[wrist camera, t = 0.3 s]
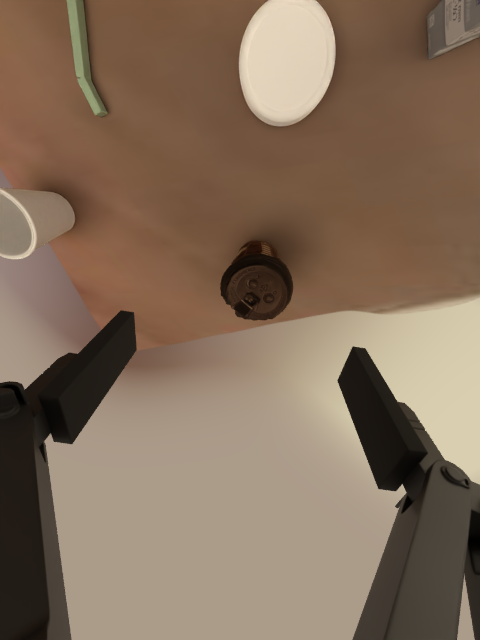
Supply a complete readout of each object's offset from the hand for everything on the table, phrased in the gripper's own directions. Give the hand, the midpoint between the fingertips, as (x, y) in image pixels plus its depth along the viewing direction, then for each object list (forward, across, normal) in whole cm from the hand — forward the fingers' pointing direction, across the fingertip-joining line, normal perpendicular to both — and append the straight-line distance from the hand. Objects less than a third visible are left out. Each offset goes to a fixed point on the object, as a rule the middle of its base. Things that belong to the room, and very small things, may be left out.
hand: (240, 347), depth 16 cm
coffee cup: (+27, +1, -3) cm, 28 cm away
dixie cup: (+27, -30, 0) cm, 40 cm away
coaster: (+27, +1, +19) cm, 34 cm away
